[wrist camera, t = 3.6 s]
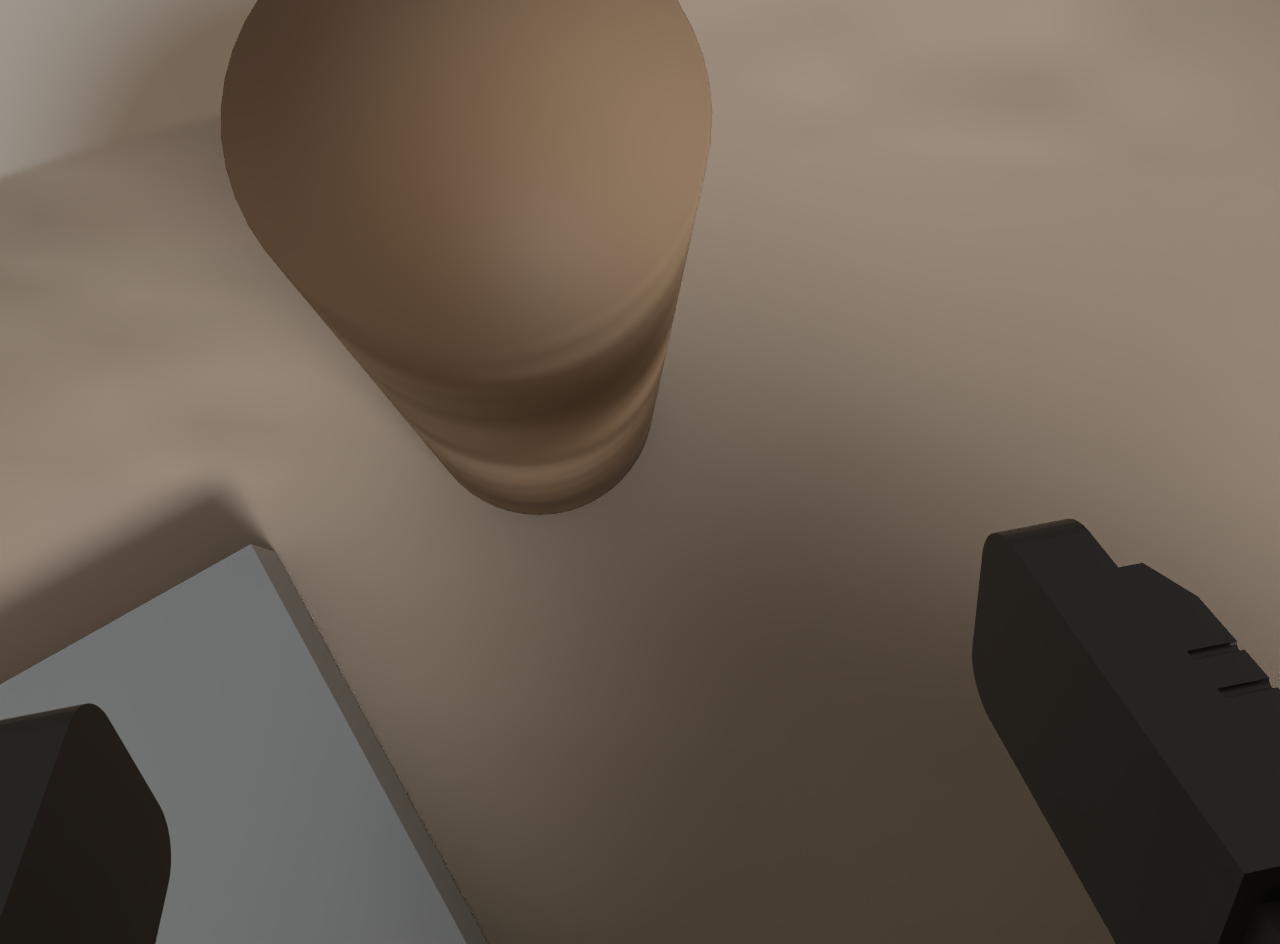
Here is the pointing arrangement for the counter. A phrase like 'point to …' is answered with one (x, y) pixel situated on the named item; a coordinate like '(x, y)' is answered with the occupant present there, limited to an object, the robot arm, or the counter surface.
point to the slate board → (256, 768)
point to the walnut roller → (483, 214)
